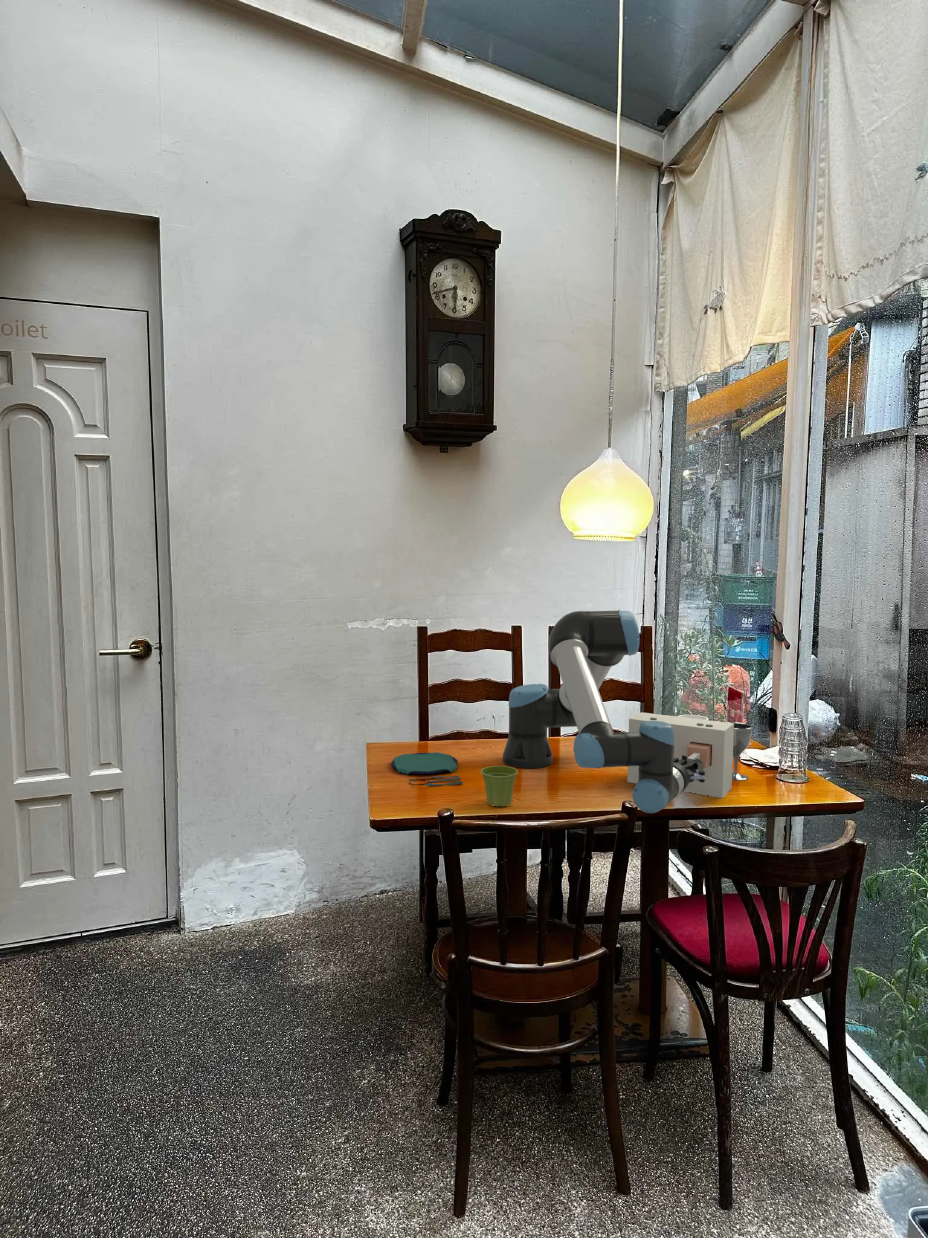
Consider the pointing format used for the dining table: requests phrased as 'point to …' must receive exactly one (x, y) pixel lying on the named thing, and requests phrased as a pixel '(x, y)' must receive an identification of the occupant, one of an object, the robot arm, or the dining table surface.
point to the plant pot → (499, 784)
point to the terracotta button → (701, 752)
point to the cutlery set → (427, 765)
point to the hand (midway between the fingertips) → (697, 758)
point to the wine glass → (740, 745)
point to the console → (700, 732)
